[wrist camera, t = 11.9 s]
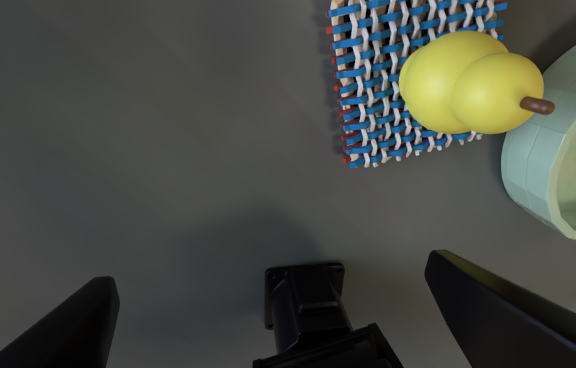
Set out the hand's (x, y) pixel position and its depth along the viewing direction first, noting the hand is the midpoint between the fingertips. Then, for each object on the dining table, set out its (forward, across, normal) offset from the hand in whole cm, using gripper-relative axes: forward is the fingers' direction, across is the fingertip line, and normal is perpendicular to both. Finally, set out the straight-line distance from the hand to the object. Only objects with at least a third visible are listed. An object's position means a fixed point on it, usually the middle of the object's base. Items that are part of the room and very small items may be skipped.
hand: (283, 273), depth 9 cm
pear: (+11, -10, -4) cm, 15 cm away
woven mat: (+13, -10, -4) cm, 17 cm away
